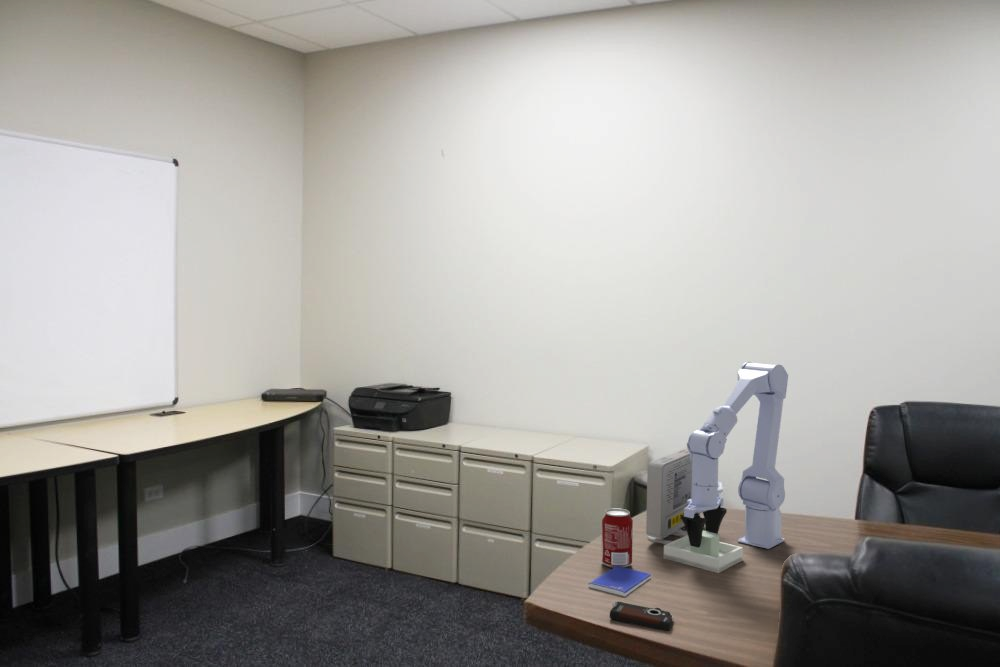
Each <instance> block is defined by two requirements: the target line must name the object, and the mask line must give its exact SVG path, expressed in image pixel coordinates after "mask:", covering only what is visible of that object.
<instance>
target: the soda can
mask: <svg viewBox="0 0 1000 667" xmlns="http://www.w3.org/2000/svg"><path fill="white" fill-rule="evenodd" d="M633 523H634V520H633V518H632V517H631V512H630V511H629V510H627V509H623V508H608V509H605V510H604V514H603V517H602V518H601V560H600V561H601V563H602V564H603V565H604V566H606V567H608V568H610V569H613V568H615V567H617V566H619V567H624V568H628V567H630V566H631V565H632V564H633V525H634V524H633Z"/></svg>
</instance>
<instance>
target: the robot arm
mask: <svg viewBox="0 0 1000 667" xmlns="http://www.w3.org/2000/svg"><path fill="white" fill-rule="evenodd" d="M788 381H789V373H788V371H787V370H786V369H785V367H784V366H783V365H782V364H779V363H777V364H774V363H773V364H772V363H771V364H770V363H760V362H751V361H746V362H744V363H743V364H742V365H741V367H740V368H739V370H738V372H737V383H736V384H735V385H734V387H733V389H732V390H731V393H730V394H729V396H728V398H727V399H726V400H725V403H724V404H723V405H722V406H717V407H715V408H714V410H713V411H712V413H711V414H710V415H709V416H708V418H707V420H706V421H705V422H704V424H703V425H702V426H701V428H700V429H697V430H695V431H693V432H692V433H691V434H690V435H689V437H688V441H687V442H686V448H687V449H688V451H689V453H690V460H691V462H692V499H689V500H687V503H689V505H688V506H687V507H686V508H684V513H683V514H681V519H682V521H683V523H684V525H685V526H684V527H685V529H686V530H685V531H686V532H687V533H688V537H689V542H690V546H694V547H698V548H699V547H700V545H701V539H702V532H703V530H704V528H705V531H708V532H712V533H716V534H719V530H720V527H721V523H722V521H723V520H724V517H725V516H726V514H727V513H728V512H727V510H728V509H727V508H725V507H723V506H724V497H722V496H718V492H719V491H718V490H719V489H718V488H719V487H718V486H719V484H718V483H719V481H718V480H719V458H720V457H721V456H722V455H723V454H724V451H725V446H726V442H727V440H728V439H727V437H728V436H729V434H730V433H731V432H732V430H733V429H734V427H735V426H736V424H737V423H738V416H737V414H738V413H739V412H741V409H743V407H744V406H745V405H746V403H747V402H748V401H749V400H750V399H751V398H752V397H753V396H755V397H756V398H757V399H758V401H759V408H758V416H757V424H756V433H755V441H754V448H753V454H752V464H751V465H750V466H749V467H747V468H746V469H744V470H743V471H742V476H741V479H740V481H739V484H738V487H737V488H738V489H737V493H738V496H739V498H740V500H741V501H742V505H745V508H744V511H745V512H744V513H745V514H744V515H745V516H744V519H745V520H744V536H743V537H740V538H739V539H737V542H738V543H741V544H746V545H750V546H755V547H759V548H763V549H767V550H770V549H771V548H773V547H775V546H777V545H779V544H780V543H782V542H785V540H786V539H785V538H784V537H782V522H783V521H782V518H783V517H782V512H781V509H780V507H781V506H782V505H783V504H784V502H785V498H786V490H785V478H784V477H783V475H781V473H780V472H779V471H778V470H777V469H776V462H777V454H778V447H779V446H778V445H779V438H780V432H781V431H780V429H781V423H782V422H781V421H782V414H783V407H784V406H783V405H784V400H785V399H786V397H787V391H788V390H787V389H788ZM701 513H702V515H703V517H701ZM699 514H700V515H699Z"/></svg>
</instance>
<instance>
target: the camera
mask: <svg viewBox="0 0 1000 667" xmlns="http://www.w3.org/2000/svg"><path fill="white" fill-rule="evenodd" d="M609 618H610V619H613V620H616V621H619V622H621V623H623V624H629V625H634V626H638V627H639V626H640V627H644V628H649V629H655V630H660V631H661V630H663V631H668V632H670V630H671V628H673V627H672V626H673V621H674V619H675V616H674V615H673V614H671V613H670V611H666V610H662V609H661V608H659V607H655V608H651V607H647V606H643V605H638V604H632V603H627V602H623V601H615V600H614V602H613V603H612V608H611V609H610V611H609Z"/></svg>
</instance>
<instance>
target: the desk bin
mask: <svg viewBox="0 0 1000 667" xmlns="http://www.w3.org/2000/svg"><path fill="white" fill-rule="evenodd" d="M690 550H691V546H690V542H689V537H688V535H687V536H684V537H680V538H677V539H675V540H673V542H671V543H668V544H663V559H665V560H669V561H673V562H675V563H678V564H679V563H680V564H683V565H686V566H691V567H694V568H698V569H701V570H704V571H708V572H712V573H716V574H720V573H722V572H724V571H725V570H728V569H730V568H731V567H733V566H734V565H736V564H739V563H741V562H743V558H744V557H743V556H744V547H742V546H738V545H735V544H730V543H727V542H722V541H719V556H718V557H716V558H715V557H711V556H708V555H704V554H700V553H696V552H692V551H690Z"/></svg>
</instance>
